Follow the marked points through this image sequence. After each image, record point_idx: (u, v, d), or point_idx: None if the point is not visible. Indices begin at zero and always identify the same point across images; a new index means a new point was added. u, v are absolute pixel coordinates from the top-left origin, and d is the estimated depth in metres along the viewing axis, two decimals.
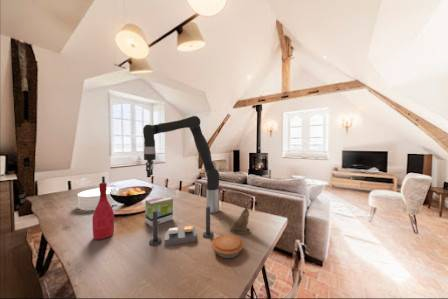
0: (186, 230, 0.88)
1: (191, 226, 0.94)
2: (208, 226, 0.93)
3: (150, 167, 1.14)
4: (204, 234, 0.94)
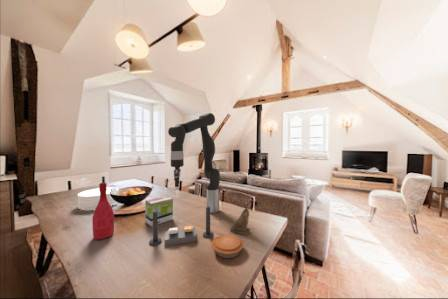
0: (186, 230, 0.88)
1: (191, 226, 0.94)
2: (208, 226, 0.93)
3: (178, 175, 0.97)
4: (204, 234, 0.94)
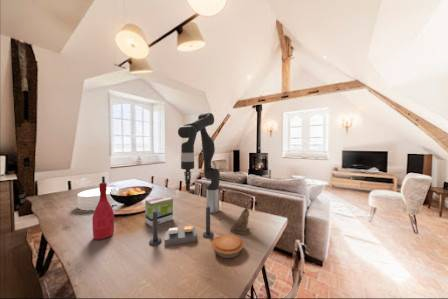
0: (186, 230, 0.88)
1: (191, 226, 0.94)
2: (208, 226, 0.93)
3: (189, 179, 0.94)
4: (204, 234, 0.94)
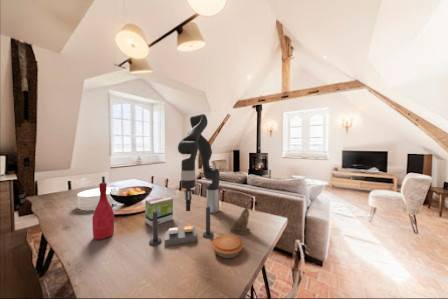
0: (186, 230, 0.88)
1: (191, 226, 0.94)
2: (208, 226, 0.93)
3: None
4: (204, 234, 0.94)
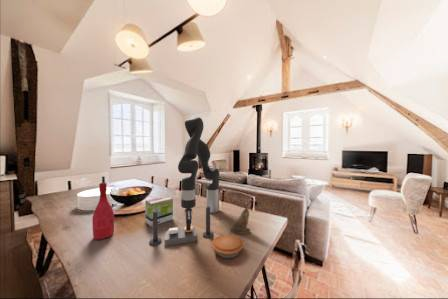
0: (186, 230, 0.88)
1: (191, 226, 0.94)
2: (208, 226, 0.93)
3: (190, 218, 0.87)
4: (204, 234, 0.94)
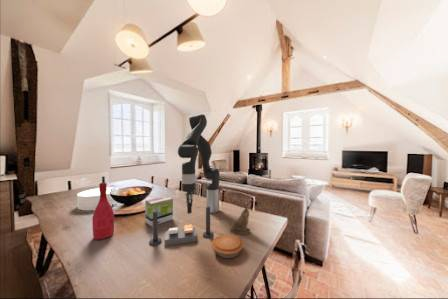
0: (186, 231, 0.88)
1: (191, 225, 0.93)
2: (208, 226, 0.93)
3: None
4: (204, 234, 0.94)
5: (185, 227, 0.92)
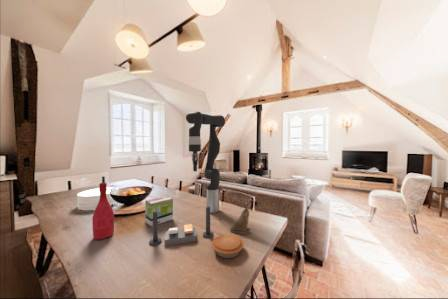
0: (186, 232, 0.88)
1: (191, 225, 0.93)
2: (208, 226, 0.93)
3: None
4: (204, 234, 0.94)
5: (185, 227, 0.92)
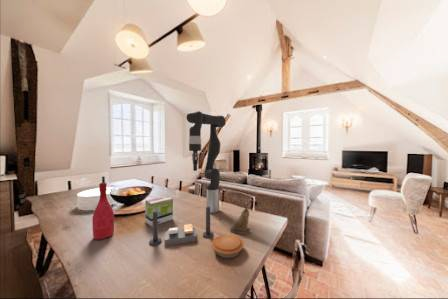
0: (186, 232, 0.88)
1: (191, 225, 0.93)
2: (208, 226, 0.93)
3: None
4: (204, 234, 0.94)
5: (185, 227, 0.92)
